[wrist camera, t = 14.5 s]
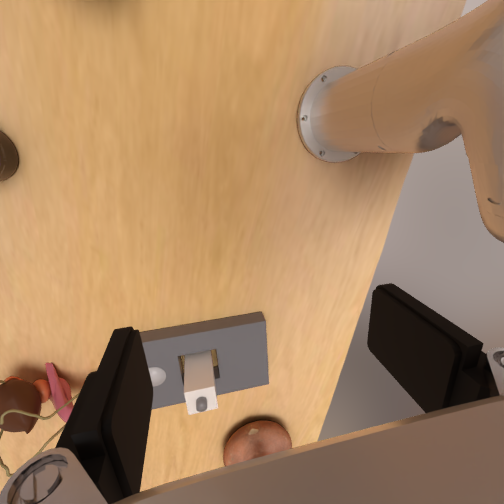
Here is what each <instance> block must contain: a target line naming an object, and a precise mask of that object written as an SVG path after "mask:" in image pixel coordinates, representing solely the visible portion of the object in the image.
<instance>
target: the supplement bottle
mask: <svg viewBox="0 0 504 504" xmlns="http://www.w3.org/2000/svg"><path fill="white" fill-rule="evenodd" d="M17 165H18V155H17V151H16V149H15V147H14V145H13V143H12V142H11V141H10V139H9V138H8V137H7V136H6V135H5V134H3V133H2V132H1V131H0V181H3V180H5V179H7V178H9V177H10V176H11V175H12V174H13V173H14V172H15V170H16V168H17Z"/></svg>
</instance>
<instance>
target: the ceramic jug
mask: <svg viewBox="0 0 504 504" xmlns="http://www.w3.org/2000/svg"><path fill="white" fill-rule="evenodd" d="M291 448H292V443H291V438H290V436H289V434H288V432H287V431H286V430H285V429H284V428H283V427H282V426H281V425H279V424H278V423H275V422H272V421H255V422H252V423H249V424H246V425H244V426H243V427H241V428H239V429H238V430H237V431H236V432H235V433H234V434H233V435H232V436H231V437H230V438H229V440H228V442H227V444H226V446H225V449H224V455H223V460H224V465H225V466H228V465H232V464H236V463H240V462H243V461H247V460H251V459H254V458H258V457H262V456H266V455H269V454H273V453H277V452H280V451H284V450H288V449H291Z"/></svg>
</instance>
